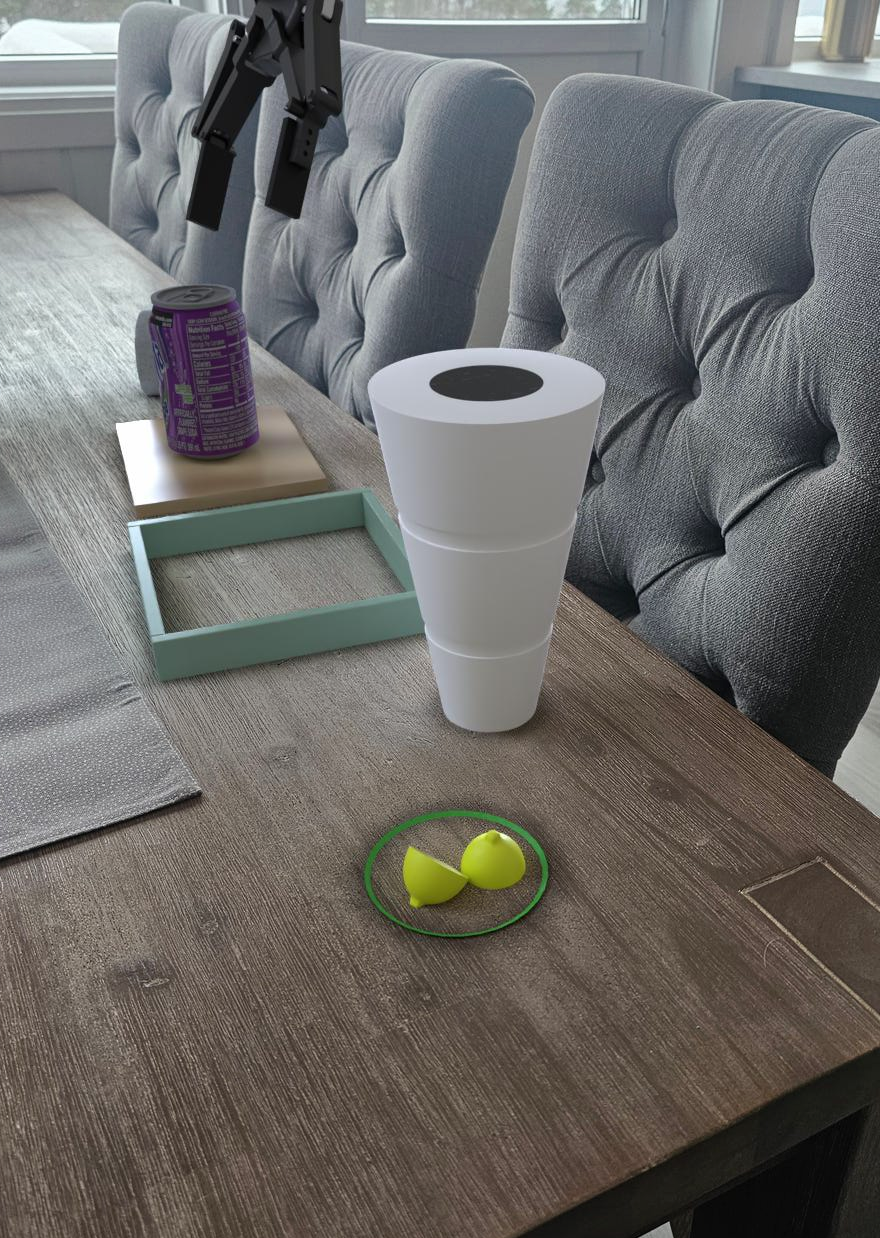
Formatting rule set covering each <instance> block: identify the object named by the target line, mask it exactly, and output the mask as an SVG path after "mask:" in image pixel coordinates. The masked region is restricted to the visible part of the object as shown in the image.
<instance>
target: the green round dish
mask: <svg viewBox="0 0 880 1238" xmlns="http://www.w3.org/2000/svg"><path fill="white" fill-rule="evenodd" d="M449 817H469V818H476V819H483V820H487V821H490V822H494V823H498V824H500V825H502V826H505V827H507V828H509V829H511V830H513V831H514V832H515V833H517V834H519V835H520V836H522V837H523V838H524V839H525V840H526V842H528V844H530V845H531V846H532V848H533V850H534V851H535V853H536V854H537V855H538V858H539V862H540V864H541V871H542V877H541V878H542V879H541V883H540V887H539V890H538V892H537V893H536V895H535V897H534V899H533V900H532V902H530V904H529V905H528V906H527V907H526V908H525V909H524V910H523V911H522V912H520V913H519V914H518V915H517V916H515V917H514V918H513V919H511V920H509V921H506V922H505V923H502V924H500V925H498V926H496V927H493V928H489V929H486V930H481V931H479V932H471V933H464V934H443V933H437V932H431V931H426V930H422V929H419V928H416V927H412V926H410V925H408V924H406V923H404V922H402V921H400V920H398V919H397V918H395V917H394V916H393V915H391V914H390V913H389V912H388V911H386V909H384V908H383V906H382V904H381V903H380V902H379V901H378V900H377V898H376V895H375V893H374V891H373V888H372V882H371V872H372V865H373V864H374V861H375V859H376V857H377V855H378V853H379V852H380V851H381V850H382V848H383V847H384V845H385V844H387V842H389V841H390V840H391V839H392V838H393V837H395V836H396V835H397V834H399V833H400V832H402V831H404V830H406V829H407V828H410V827H413V826H414V825H417V824H420V823H422V822H423V823H424V822H427V821H431V820H434V819H439V818H441V819H442V818H449ZM526 866H527V865H526V860H525V857H524V854H523V852H522V849H521V848H520V846H519V845H518V843H517V842H516V841H515V840H514V839H512V838H511V837H510V836H509V835H506V834H505V833H502V832H499V831H497V830H495V829H490V830H488V831H487V832H484V833H481V834H479V835H478V836H476V837H474V838H473V839H472V840H471V841H470V843H468V845H467V846H466V848H465V850H464V852H463V854H462V857H461V861H460V871H459V870H458V869H456V868H454V867H453V866H451V865H449V864H447V863H446V862H444V861H441V860H440V859H438V858H437V857H434V856H432V855H431V854H429V853H427V852H425V851H424V850H421V849H420V848H417V847H414V846H412V845H409V846H408V849H407V851H406V853H405V856H404V860H403V866H402V877H403V882H404V886H405V888H406V890H407V892H408V894H409V895H410V899H409V904H410V906H411V907H413V908H416V909H419V908H421V907H423V906H425V905H439V904H442V903H445V902H447V901H449V900H451V899H453V898H454V897H456V896H457V895H458V894H459V893H460V892H461V891H462V890H463V888H464V887H466V885H467V884H468V883H469V884H471V885H473V886H474V887H477V888H480V889H484V890H502V889H505V888H509V887H512V886H513V885H515V884H516V883H518V882H519V881H520V880H521V879H522V878H523V877H524V874H525V873H526V868H527V867H526ZM548 867H549V866H548V861H547V857H546V854H545V851H544V850H543V849H542V847H541V845H540V844H539V842H538V841H537V840H536V839H535V838H534V837H533V836H532V835H531V834H530V833H529V832H528V831H527V830H525V829H524V828H523V827H521V826H519V825H517V824H516V823H514V822H512V821H510V820H508V819H505V818H503V817H500V816H497V815H493V814H490V813H486V812H481V811H473V810H472V811H471V810H446V811H437V812H432V813H428V814H424V815H421V816H420V815H419V816H417V817H415V818H411V819H410V820H408V821H405V822H403V823H401V824H399V825H398V826H396V827H394V828H393V829H391V830H390V831H388V832H387V833H386V834H385V835H383V836H382V838H380V839H379V840H378V841H377V843H376V844H375V846H374V847H373V848H372V849H371V851H370V853H369V855H368V857H367V860H366V861H365V867H364V873H363V877H364V885H365V888H366V891H367V893H368V895H369V899H370V900H371V901H372V903H373V904H374V905H375V906H376V907H377V909H378V910H379V911H380V912H381V913H382V914H384V915H385V916H386V917H388V918H389V919H390V920H391V921H393V922H395V923H397V924H399V925H400V926H403V927H404V928H406V929H409V930H413V931H415V932H418V933H421V934H426V935H432V936H438V937H468V936H476V935H482V934H486V933H488V932H489V933H490V932H491V931H496V930H498V929H502V928H503V927H506V926H507V925H510V924H512V923H514V922H516V921H517V920H519V919H520V918H521V917H523V916H524V915H526V914H527V913H528V912H530V910H532V908H533V907H534V906H535V905H536V904H537V902H538V901H539V900H540V899H541V897H542V895H543V893H544V892H545V890H546V886H547V883H548V878H549V868H548Z"/></svg>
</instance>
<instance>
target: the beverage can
mask: <svg viewBox="0 0 880 1238" xmlns="http://www.w3.org/2000/svg"><path fill="white" fill-rule="evenodd" d="M236 298H237V293H236V290H235V288H233V287H230V286H227V285H223V284H214V283H213V284H212V283H193V284H181V285H176V286H175V285H174V286H169V287H166V288H162V289H160V290H156V291H155V292H153V293H151V295H150V302H151V304H152V307H151V309H150V310H151V314H150V317H149V321H148V325H149V331H150V337H151V343H152V350H153V356H154V362H155V368H156V374H157V380H158V386H159V392H160V395H159V397H160V403H161V410H162V415H163V418H164V422H165V428H166V434H167V440H168V445H169V447H170V448H171V449H172V450H173V451H175V452H178V453H180V454H183V455H186V456H188V457H190V458H193V459H198V460H219V459H225V458H229V457H233V456H236V455H238V454H240V453H242V452H243V451H245V450H246V449H247V448H249V447H251V446H252V445H254V444H255V443H256V442H257V441H258V440H259V437H260V435H259V427H258V419H257V411H256V407H257V404H256V396H255V395H256V394H255V387H254V379H253V372H252V370H253V369H252V364H251V355H250V346H249V337H248V330H247V322H246V321H247V320H246V316H245V313H244V311H243V309H242V308H241V306H240V305H239V303H238V302H237V299H236Z"/></svg>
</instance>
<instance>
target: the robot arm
mask: <svg viewBox="0 0 880 1238" xmlns="http://www.w3.org/2000/svg"><path fill="white" fill-rule="evenodd" d="M253 2H254V4H255V6H254V8H253V10H252V14H251V15H250V17H249V18H248V20H247V22H246V23H244V22H242V21H241V20H239V19H237V18H233V20H232V21H231V23H230V25H229V29H228V33H227V37H226V41H225V45H224V48H223V51H222V53H221V56H220V58H219V59H218V60H219V61H218V63H217V65H216V68H215V71H214V73H213V75H212V78H211V80H210V83H209V85H208V88H207V90H206V93H205V95H204V98H203V100H202V102H201V105H200V107H199V110H198V113H197V116H196V118H195V121H194V122H193V125H192V127H191V130H190V135H191V138H193V139H195V140H198V142H199V143H201V146H200V149H199V154H198V159H197V162H196V168H195V172H194V178H193V182H192V185H191V186H192V187H191V191H190V196H189V199H188V205H187V210H186V214H185V218H184V219H185V221H187V222H190V223H193V224H194V225H198V226H199V227H202V228H204V229H206V230H209V231H211V232H214V233H215V232H219V230H220V229H219V228H220V225H221V224H220V223H221V219H222V216H223V211H224V207H225V201H226V197H227V192H228V188H229V183H230V180H231V179H230V178H231V173H232V169H233V164H234V161H235V158H236V157H237V156H238V154H237V151H236V148H235V147H234V146H233V145H234V144H235V142H236V140H237V138H238V136H239V135H240V132H241V131H242V129H243V128H244V125H245V124H246V122H247V120H248V118H249V116H250V114H251V113H252V111H253V109H254V107H255V106H256V104H257V102H258V100H259V98H260V97H261V95H262V92H263V91H264V89H265V88H270V87H272V86H273V85H274V83H275V82H276V81H277V78H278V77H279V76H280V75H281V74H282V77H283V81H284V85H285V90H286V94H287V98H288V101H287V103H286V104H285V106H284V107H283V108H282V109H283V111H284V112H286V113H288V114H290V115H292V116H294V117H295V118H296V119H294V118H292V117H290V116H285V117H283V119H282V123H281V127H280V132H279V136H278V141H277V146H276V149H275V153H274V154H275V155H274V160H273V164H272V168H271V173H270V178H269V182H268V187H267V191H266V196H265V199H264V207H266V208H268V209H271V210H272V211H275V212H277V213H279V214H282V215H284V216H286V217H288V218H290V219H292V220H300V219H301V215H302V210H303V206H304V201H305V197H306V193H307V189H308V184H309V179H310V175H311V172H312V171H311V170H312V166H313V162H314V157H315V152H316V148H317V144H318V139H319V134H320V131H322V130H323V129H324V128H325V127H326V126H327V124H328V120H329V117H330V116H331V117H333V118H338V117H339V116H340V115H341V114H342V112H343V108H344V99H343V97H344V96H343V75H342V74H343V73H342V53H341V52H342V51H341V31H340V29H341V28H340V27H341V22H342V15H343V9H344V1H343V0H253ZM322 88H323V89H325V90H326V92H325V91H324V90H322Z"/></svg>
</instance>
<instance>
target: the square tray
mask: <svg viewBox="0 0 880 1238" xmlns="http://www.w3.org/2000/svg"><path fill="white" fill-rule="evenodd" d="M363 526H364V528H365V529H366V531H367V532H368V534H369V535H370V538H371V539H372V540H373V542H374V544H375V545H376V547H377V548H378V549H379V550H378V551H380V553H381V555H382V556H383V558H384V559H385V561H387V562H386V563H387V564H388V566H389V567H390V568H391V570H392V572H393V573H394V575H395V576H396V578H397V579H398V581H399V583H400V584H401V586H402V587H403V589H404V590H405V591H404V592H399V593H394V594H388V595H387V594H386V595H382V596H376V597H370V598H365V599H358V600H352V601H348V602H342V603H336V604H331V605H325V606H319V607H314V608H307V609H303V610H302V609H301V610H297V611H291V612H285V613H279V614H273V615H267V616H261V617H257V618H250V619H245V620H244V619H243V620H239V621H233V622H228V623H224V624H223V623H221V624H217V625H211V626H204V627H199V628H194V629H188V630H182V631H176V632H170V633H166V631H165V627H164V624H163V623H164V622H163V619H162V614H161V610H160V606H159V602H158V598H157V597H158V596H157V593H156V589H155V584H154V580H153V576H152V572H151V567H150V563H149V560H153V559H158V558H164V557H165V558H167V557H170V556H179V555H184V554H191V553H196V552H202V551H203V552H204V551H210V550H217V549H222V548H229V547H235V546H241V545H249V544H254V543H255V544H256V543H260V542H267V541H274V540H279V539H287V538H293V537H299V536H307V535H313V534H318V533H325V532H330V531H331V532H332V531H337V530H343V529H350V528H356V527H363ZM126 529H127V534H128V539H129V544H130V548H131V554H132V559H133V563H134V564H133V565H134V568H135V574H136V578H137V583H138V588H139V592H140V597H141V601H142V607H143V613H144V617H145V620H146V626H147V630H148V634H149V639H150V644H151V649H152V654H153V658H154V664H155V668H156V673H157V677H158V682H159V683H163V682H167V681H173V680H178V679H183V678H189V677H194V676H199V675H205V674H210V673H215V672H222V671H225V670H231V669H237V668H238V669H239V668H243V667H247V666H253V665H257V664H258V665H260V664H264V663H269V662H274V661H279V660H280V661H281V660H286V659H290V658H297V657H302V656H307V655H312V654H317V653H324V652H329V651H334V650H339V649H344V648H349V647H355V646H361V645H365V644H371V643H377V642H381V641H387V640H393V639H398V638H404V637H408V636H414V635H419V634H426V633H425V622H424V620H423V618H422V615H421V611H420V607H419V603H418V598H417V594H416V590H415V586H414V582H413V578H412V574H411V569H410V565H409V561H408V557H407V553H406V549H405V545H404V540H403V536H402V532H401V529H400V528H399V527H398V525H397V524H396V522H395V521H394V520H393V518H392V517H391V515H390V514H389V512H388V511H387V510H386V508H385V507H384V505H383V504H382V502H381V501H380V499H379V498H378V497H377V494H375V492H374V491H373V490H372V488H371V487H370V486H367V487H360V488H354V489H347V490H346V489H345V490H340V491H331V492H326V493H318V494H311V495H305V496H299V497H292V498H286V499H279V500H278V499H277V500H272V501H266V502H259V503H257V502H256V503H252V504H244V505H238V506H237V505H236V506H231V507H223V508H216V509H210V510H205V511H197V512H190V513H183V514H176V515H169V516H164V517H162V516H161V517H156V518H155V517H154V518H149V519H142V520H135V521H129V522H126Z"/></svg>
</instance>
